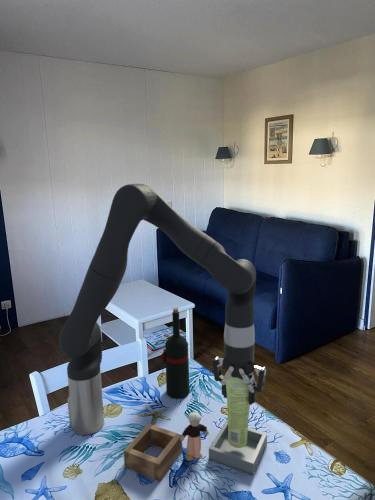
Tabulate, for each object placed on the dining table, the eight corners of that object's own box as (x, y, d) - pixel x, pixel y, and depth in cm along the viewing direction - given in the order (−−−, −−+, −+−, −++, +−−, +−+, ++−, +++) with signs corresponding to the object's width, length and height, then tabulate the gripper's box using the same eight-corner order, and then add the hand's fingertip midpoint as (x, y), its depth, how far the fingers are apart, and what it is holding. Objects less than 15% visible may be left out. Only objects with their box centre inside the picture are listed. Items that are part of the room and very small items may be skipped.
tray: (208, 459, 98) (208, 448, 98) (225, 431, 109) (225, 421, 108) (253, 475, 93) (253, 463, 92) (266, 444, 103) (267, 433, 103)
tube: (238, 432, 104) (239, 367, 100) (252, 441, 100) (254, 375, 96) (224, 441, 100) (224, 374, 96) (238, 452, 97) (239, 383, 93)
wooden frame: (124, 467, 96) (123, 450, 95) (149, 439, 106) (148, 423, 105) (159, 482, 92) (159, 464, 90) (182, 451, 102) (181, 434, 100)
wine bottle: (161, 385, 133) (157, 304, 126) (189, 385, 132) (188, 304, 126) (158, 399, 125) (155, 313, 119) (189, 399, 125) (187, 313, 118)
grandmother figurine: (185, 465, 96) (184, 421, 94) (179, 455, 100) (178, 413, 97) (211, 455, 100) (211, 412, 97) (204, 445, 103) (203, 404, 101)
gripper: (271, 338, 94) (269, 399, 98) (218, 328, 101) (218, 385, 104) (263, 351, 88) (261, 415, 91) (206, 340, 94) (207, 400, 98)
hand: (238, 399), depth 98 cm, fingers closed on tube, 6 cm apart
